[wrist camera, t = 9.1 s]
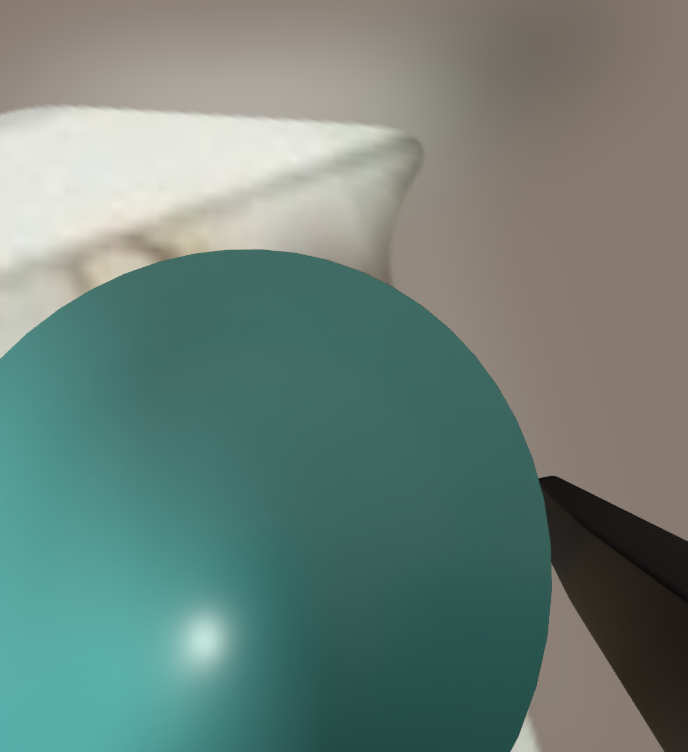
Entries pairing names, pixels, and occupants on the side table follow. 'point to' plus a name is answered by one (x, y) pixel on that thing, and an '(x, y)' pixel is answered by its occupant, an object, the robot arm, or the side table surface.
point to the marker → (263, 521)
